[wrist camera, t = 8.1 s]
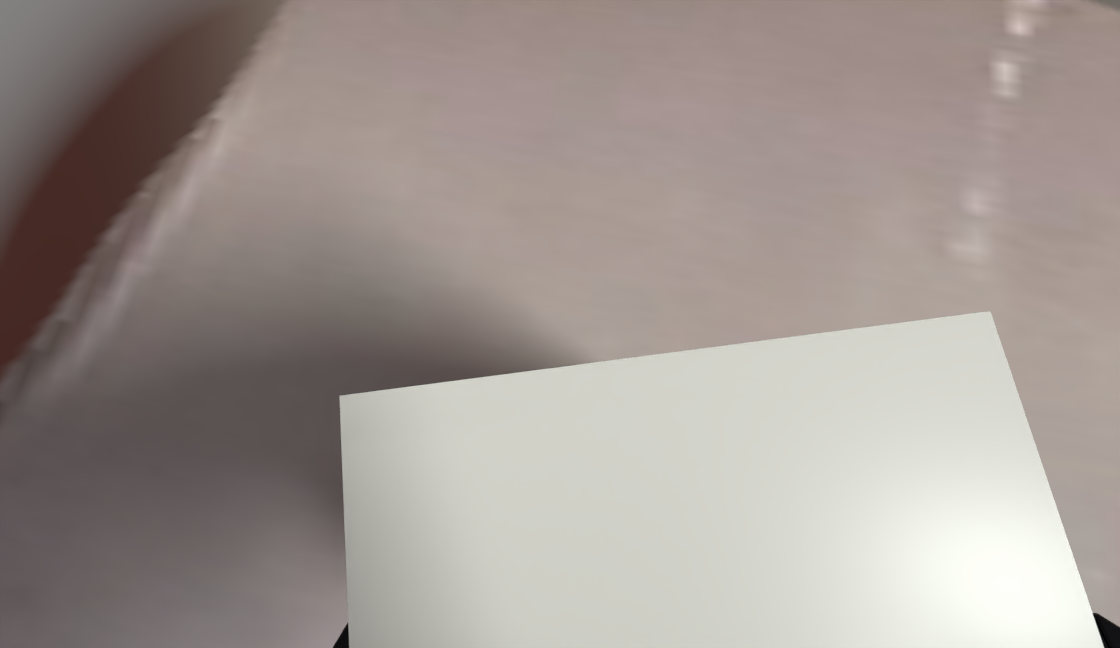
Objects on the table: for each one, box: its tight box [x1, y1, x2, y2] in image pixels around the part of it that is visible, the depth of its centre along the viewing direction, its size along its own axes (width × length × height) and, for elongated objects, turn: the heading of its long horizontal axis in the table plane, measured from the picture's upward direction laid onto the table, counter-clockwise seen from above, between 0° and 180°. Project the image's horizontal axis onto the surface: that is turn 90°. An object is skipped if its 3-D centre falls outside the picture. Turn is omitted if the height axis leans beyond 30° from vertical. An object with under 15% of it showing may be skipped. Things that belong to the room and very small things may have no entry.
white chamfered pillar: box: [339, 311, 1104, 648], centre depth 9 cm, size 6×6×11 cm
